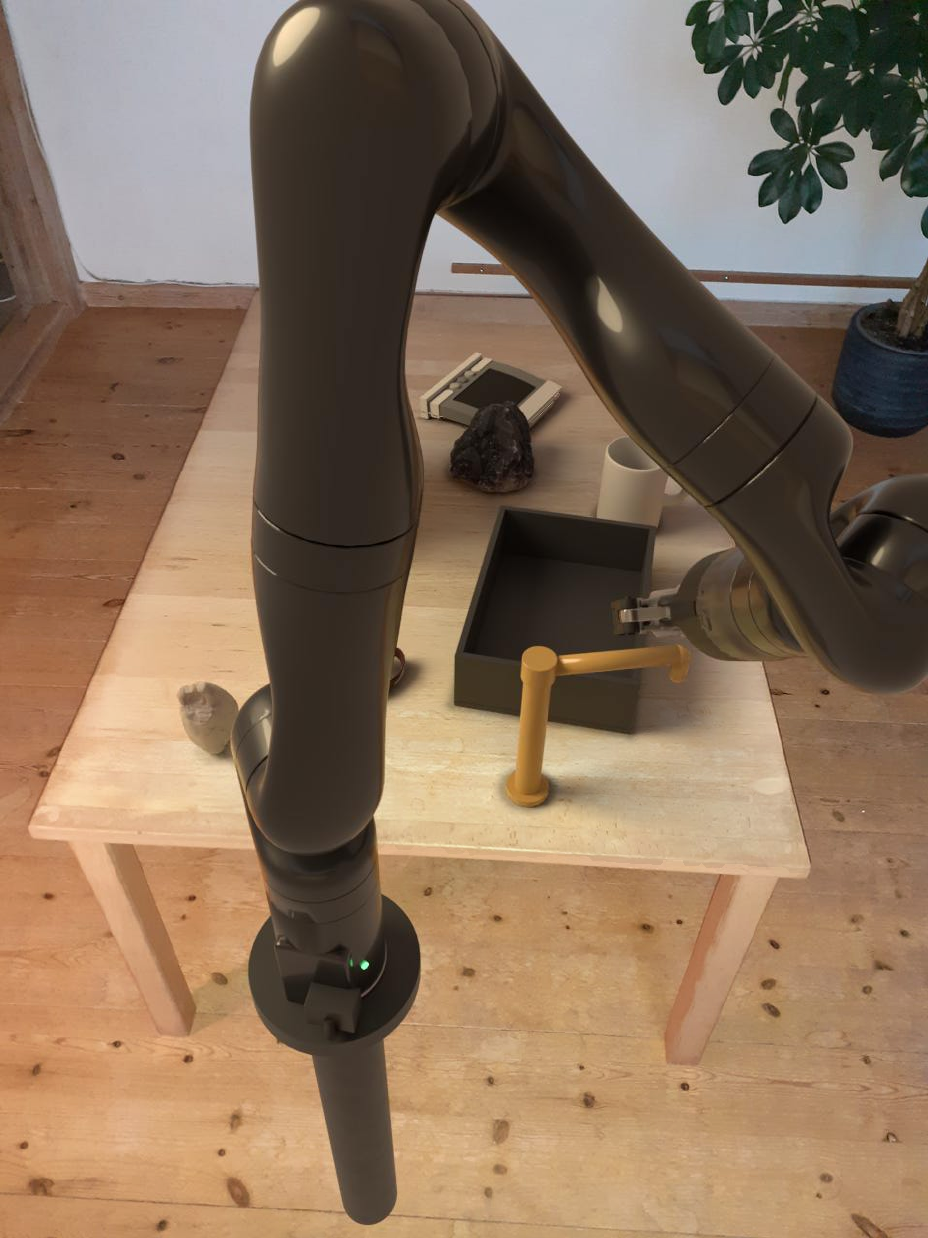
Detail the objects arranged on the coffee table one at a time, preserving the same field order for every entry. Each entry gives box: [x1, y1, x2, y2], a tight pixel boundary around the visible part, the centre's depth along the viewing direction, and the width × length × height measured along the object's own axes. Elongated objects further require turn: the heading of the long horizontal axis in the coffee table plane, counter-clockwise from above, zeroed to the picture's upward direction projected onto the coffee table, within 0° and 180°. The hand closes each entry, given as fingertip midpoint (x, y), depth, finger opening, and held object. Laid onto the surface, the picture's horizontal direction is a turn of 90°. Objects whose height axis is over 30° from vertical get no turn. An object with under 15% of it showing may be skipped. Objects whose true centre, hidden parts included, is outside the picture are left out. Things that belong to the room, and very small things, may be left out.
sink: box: [453, 504, 657, 735], centre depth 115 cm, size 28×20×8 cm
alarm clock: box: [419, 352, 563, 430], centre depth 155 cm, size 17×5×16 cm
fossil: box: [176, 681, 240, 755], centre depth 101 cm, size 6×4×10 cm, turn 111°
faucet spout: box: [521, 644, 692, 689], centre depth 90 cm, size 16×3×5 cm, turn 98°
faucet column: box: [505, 683, 551, 808], centre depth 95 cm, size 4×4×17 cm
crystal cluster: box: [448, 401, 536, 493], centre depth 140 cm, size 13×14×10 cm
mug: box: [596, 435, 690, 530], centre depth 131 cm, size 12×8×11 cm
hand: (670, 614), depth 79 cm, fingers open, 6 cm apart
